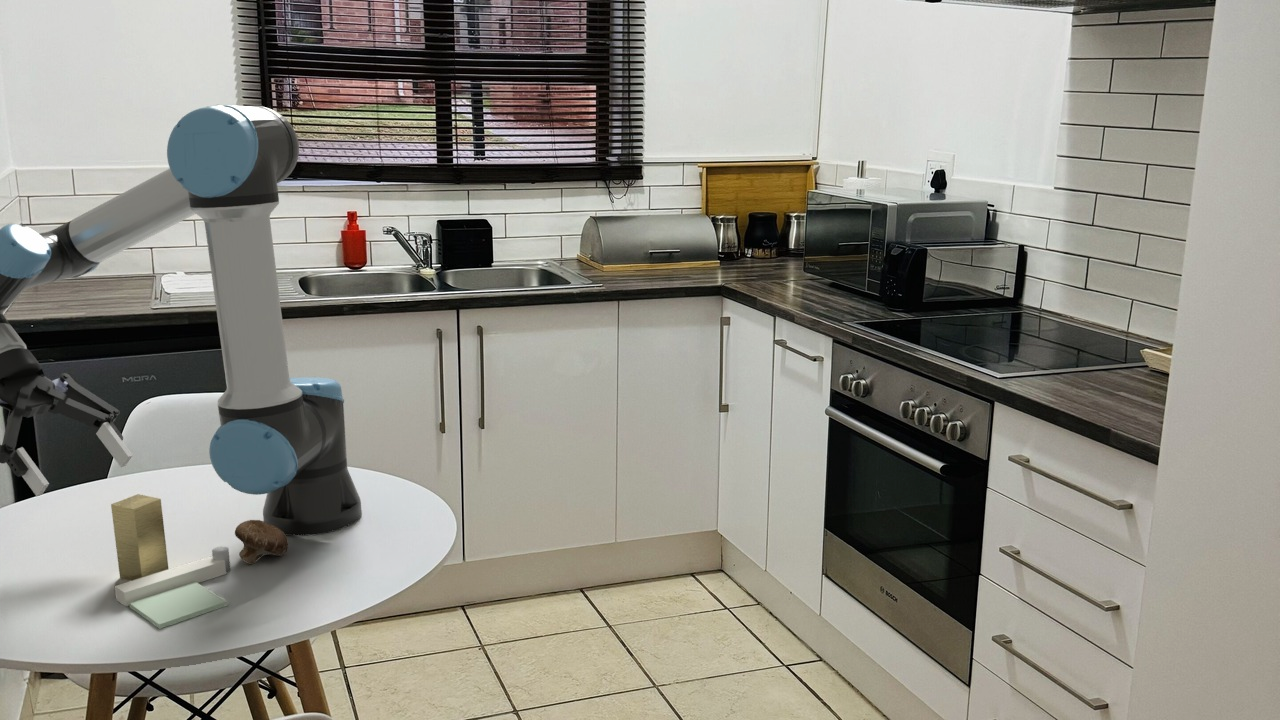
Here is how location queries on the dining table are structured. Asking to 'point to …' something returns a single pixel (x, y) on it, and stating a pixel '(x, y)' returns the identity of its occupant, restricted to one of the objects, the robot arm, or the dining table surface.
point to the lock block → (139, 536)
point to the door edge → (175, 577)
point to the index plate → (177, 604)
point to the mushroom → (260, 540)
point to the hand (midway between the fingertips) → (86, 475)
